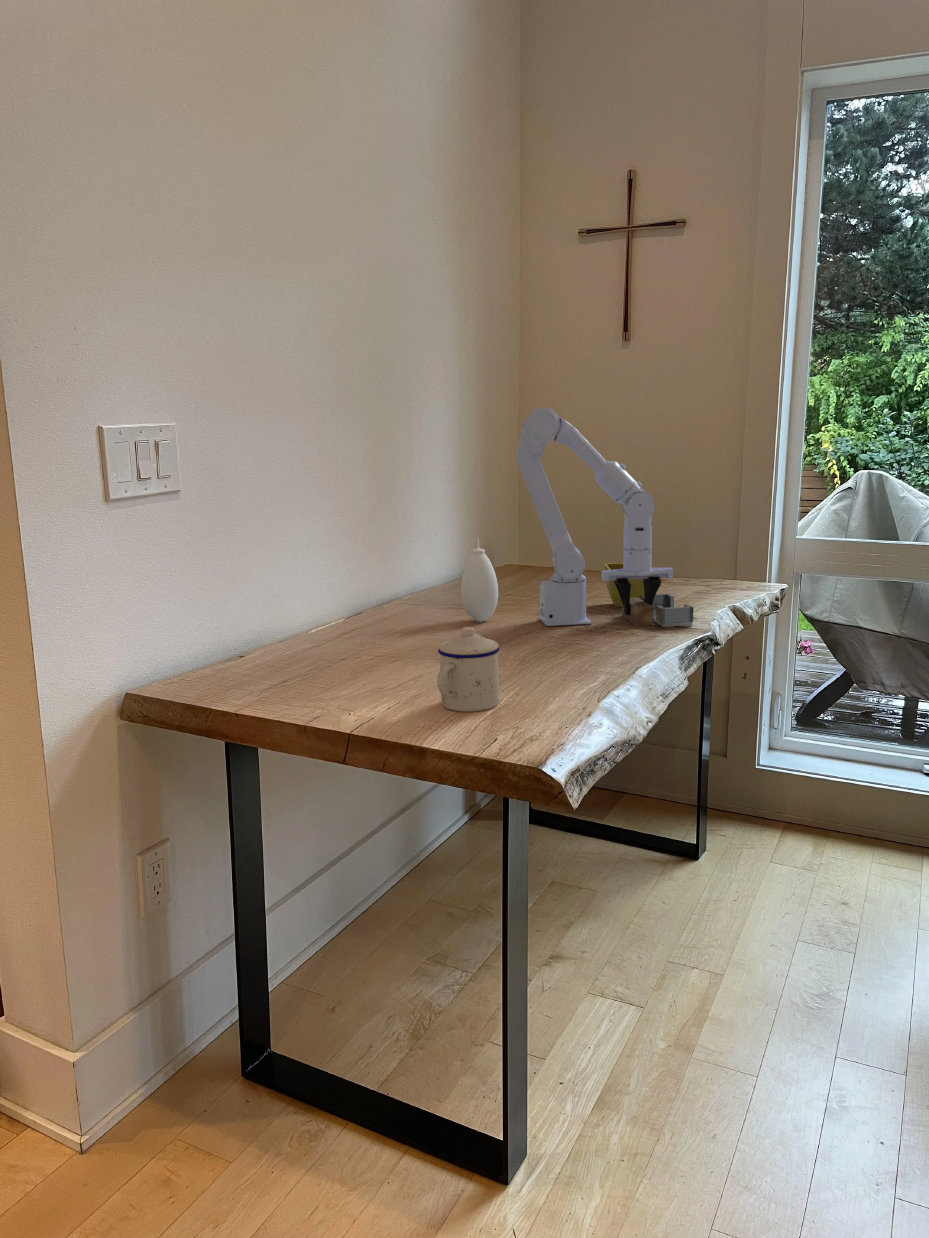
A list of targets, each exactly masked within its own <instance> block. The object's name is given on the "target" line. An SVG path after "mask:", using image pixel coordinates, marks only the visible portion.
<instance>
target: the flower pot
mask: <svg viewBox="0 0 929 1238" xmlns="http://www.w3.org/2000/svg"><path fill="white" fill-rule="evenodd" d="M616 569H623V562H619V563H617V562H616V563H613V562H612V563H604V571H606V570H616ZM629 577H632V576H629ZM628 581H629V583H630V584H631V591H630V598H639V597H640V595H644V583H643V579H629V580H628ZM605 582H606V583H605V584H606V587H607V591H608V595H609V597H610V600H611V601H612V603H613V604H614V606H615V607H616V608H622V600H621V597H620V594H619V592H618V590H617V588H616V585H615V583H614V580H609V581H605Z"/></svg>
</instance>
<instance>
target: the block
mask: <svg viewBox="0 0 929 1238" xmlns="http://www.w3.org/2000/svg"><path fill="white" fill-rule="evenodd" d="M621 616H622V617H623V618H624V617H625V618H624V619H626V620H627V621H628V620H629V623H631V624H632V625H634V626H635V627H651V625H653V626H654V621H653V607H652V606H651V605H649V604H647V603H646V602H644V601H643V600H641V599H640V598H630V615H626V614H624V609H623V604H622V607H621Z"/></svg>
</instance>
